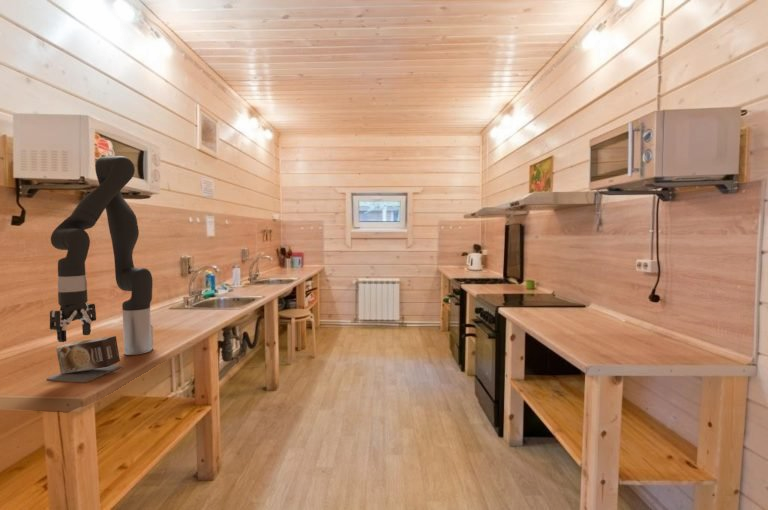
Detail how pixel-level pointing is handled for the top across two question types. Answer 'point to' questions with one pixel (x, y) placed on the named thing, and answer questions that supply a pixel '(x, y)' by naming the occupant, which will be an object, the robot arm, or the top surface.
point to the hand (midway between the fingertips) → (74, 338)
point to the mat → (83, 374)
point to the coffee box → (88, 354)
